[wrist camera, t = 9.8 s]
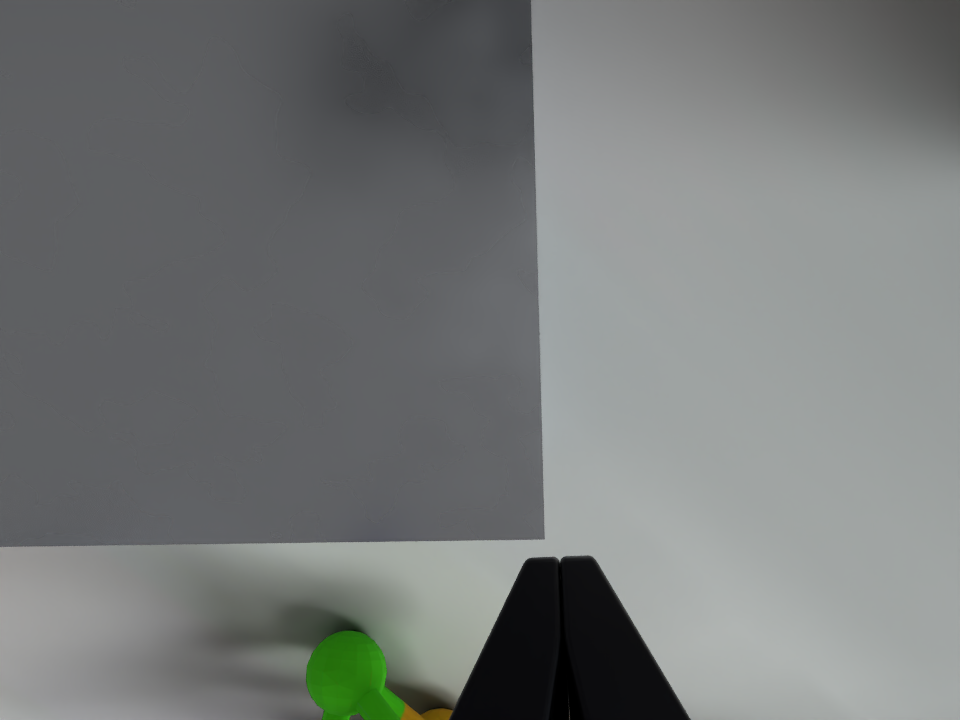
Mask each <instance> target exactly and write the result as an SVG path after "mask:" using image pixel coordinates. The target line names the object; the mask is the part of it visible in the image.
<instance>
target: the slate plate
mask: <svg viewBox="0 0 960 720" xmlns="http://www.w3.org/2000/svg"><path fill="white" fill-rule="evenodd" d="M532 539H545V537H544V498H543V460H542V421H541V382H540V344H539V305H538V267H537V228H536V189H535V151H534V112H533V74H532V35H531V0H0V547H17V546H91V545H164V544H238V543H311V542H385V541H458V540H532Z"/></svg>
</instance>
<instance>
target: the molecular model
mask: <svg viewBox="0 0 960 720" xmlns="http://www.w3.org/2000/svg"><path fill="white" fill-rule="evenodd" d="M386 674H387V668H386V662H385V657H384V655H383V653H382V651H381V649H380V648H379V646H378V645H377V644H376V642H375V641H374V640H372V639H371V638H370V637H368V636H367V635H365V634H363V633H361V632H356V631H341V632H337V633H334V634H332V635H330V636H328V637H327V638H325V639H324V640H323V641H322V642H321V643H320V644H319V645H318V646H317V648H316V649H315V650H314V652H313V653H312V655H311V658H310V660H309V662H308V665H307V673H306V682H307V688H308V691H309V693H310V695H311V697H312V699H313V700H314V701H315V703H316V704H317V705H318V706H319V707H320V708H322V709H323V710H324V713H323V717H322V720H349V719H350V716H351V715H356V714H358V713H359V714H360V715H361V716H362V718H363V719H364V720H449V718H450V716H451V714H452V712H453V711H452V710H449V709H444V708H440V709H433V710H429V711H427V712H425V713H423V714H421V715H419V714H418V713H417V712H416V711H414V710H413V709H412V708H411V707H409V706H408V705H407V704H406V703H405V702H403V701H402V700H401V699H400V698H399V697H397V696H396V695H395V694H394V693H393V692H391V691H390V690H389V689H388V688H387V687H385V686H384V685H385V680H386Z"/></svg>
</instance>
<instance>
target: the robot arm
mask: <svg viewBox="0 0 960 720" xmlns="http://www.w3.org/2000/svg"><path fill="white" fill-rule="evenodd" d="M568 699H569V700H568ZM569 711H570V717H569ZM449 720H691V719H690V718H689V716H688V714H687V713H686V711H685V709H684V708H683V706H682V704H681V703H680V701H679V699H678V698H677V696H676V694H675V692H674V691H673V689H672V687H671V686H670V684H669V682H668V681H667V679H666V677H665V676H664V674H663V672H662V671H661V669H660V667H659V666H658V664H657V662H656V660H655V659H654V657H653V655H652V654H651V652H650V650H649V649H648V647H647V645H646V644H645V642H644V640H643V639H642V637H641V635H640V634H639V632H638V630H637V628H636V627H635V625H634V623H633V622H632V620H631V618H630V617H629V615H628V613H627V612H626V610H625V608H624V607H623V605H622V603H621V602H620V600H619V598H618V597H617V595H616V593H615V591H614V590H613V588H612V586H611V585H610V583H609V581H608V580H607V578H606V576H605V575H604V573H603V571H602V570H601V568H600V566H599V565H598V563H597V561H596V560H595V559H594V558H593V557H592V556H566V557H563V558H562V559H561V561H560V562H559V560H558V559H557V558H556V557H538V558H529V559H527V560H526V561H525V563H524V564H523V566H522V568H521V570H520V572H519V574H518V576H517V579H516V581H515V583H514V585H513V587H512V589H511V591H510V593H509V595H508V597H507V599H506V601H505V604H504V606H503V608H502V610H501V612H500V614H499V616H498V618H497V620H496V622H495V624H494V626H493V629H492V631H491V633H490V635H489V637H488V639H487V641H486V643H485V645H484V647H483V649H482V651H481V653H480V656H479V658H478V660H477V662H476V664H475V666H474V668H473V670H472V672H471V674H470V676H469V678H468V681H467V683H466V685H465V687H464V689H463V691H462V693H461V695H460V697H459V699H458V701H457V703H456V706H455V708H454V710H453V712H452V714H451V716H450V718H449Z"/></svg>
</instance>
